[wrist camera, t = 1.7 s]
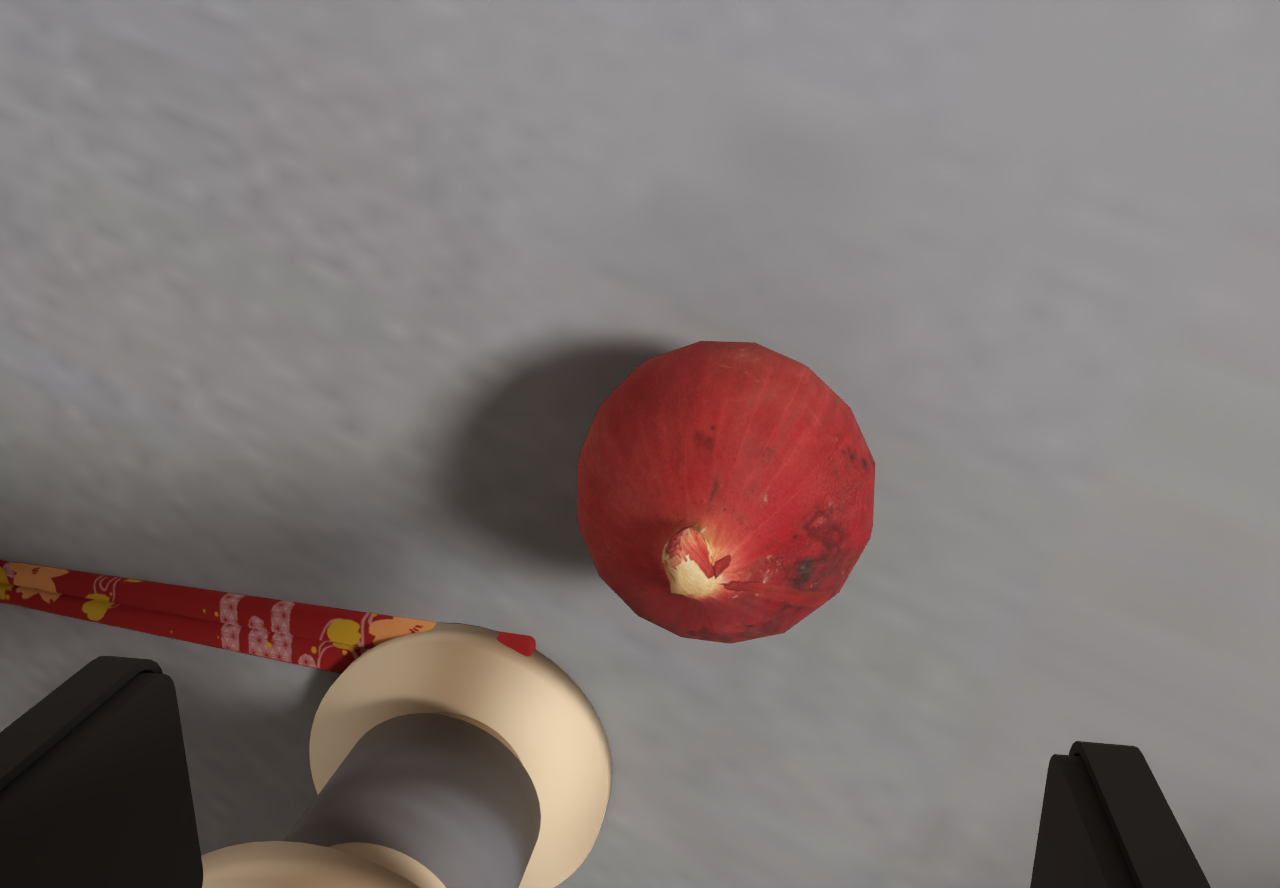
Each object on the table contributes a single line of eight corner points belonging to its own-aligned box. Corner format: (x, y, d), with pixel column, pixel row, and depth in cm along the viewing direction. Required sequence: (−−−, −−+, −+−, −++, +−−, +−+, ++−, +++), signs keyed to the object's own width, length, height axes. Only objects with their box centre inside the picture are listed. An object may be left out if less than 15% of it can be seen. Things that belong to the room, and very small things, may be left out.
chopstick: (-261, 505, 30) (-294, 517, 29) (540, 629, 27) (530, 646, 26) (-248, 567, 31) (-280, 580, 30) (537, 695, 28) (527, 715, 27)
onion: (913, 376, 23) (955, 508, 15) (800, 588, 25) (789, 797, 17) (672, 268, 23) (598, 347, 16) (579, 488, 25) (473, 650, 18)
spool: (611, 637, 26) (499, 910, 17) (612, 897, 29) (515, 1254, 20) (313, 610, 27) (66, 853, 19) (338, 861, 30) (132, 1182, 21)
